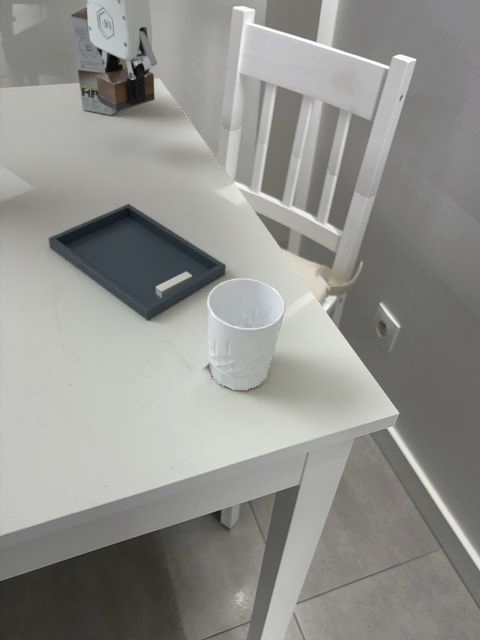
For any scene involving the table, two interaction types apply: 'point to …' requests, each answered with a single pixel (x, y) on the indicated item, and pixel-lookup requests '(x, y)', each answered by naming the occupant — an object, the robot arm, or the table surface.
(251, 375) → the white cup
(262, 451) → the table surface
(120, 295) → the tray
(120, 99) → the eraser
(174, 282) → the chalk
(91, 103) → the coffee box
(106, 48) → the robot arm
